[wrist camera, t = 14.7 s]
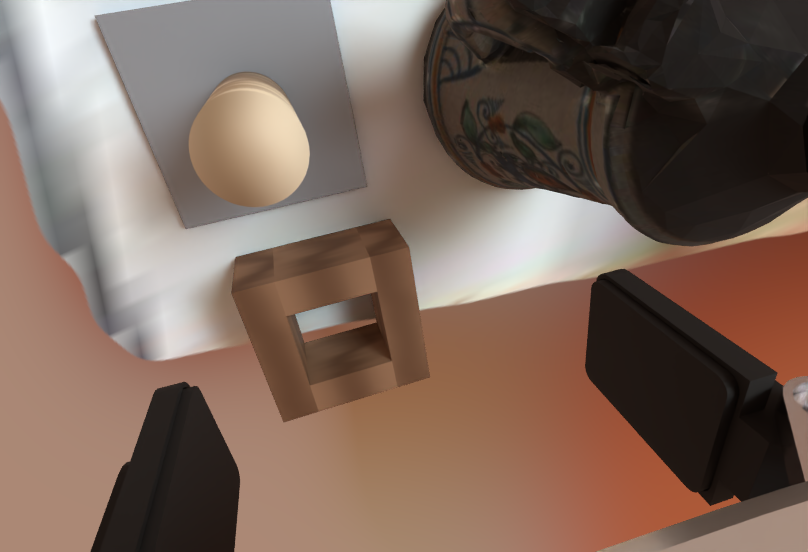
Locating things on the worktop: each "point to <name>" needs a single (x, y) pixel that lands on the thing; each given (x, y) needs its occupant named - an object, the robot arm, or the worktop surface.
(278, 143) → the maple plug
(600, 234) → the worktop surface
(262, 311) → the walnut holder
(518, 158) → the beer stein
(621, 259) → the worktop surface
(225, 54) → the slate mat
